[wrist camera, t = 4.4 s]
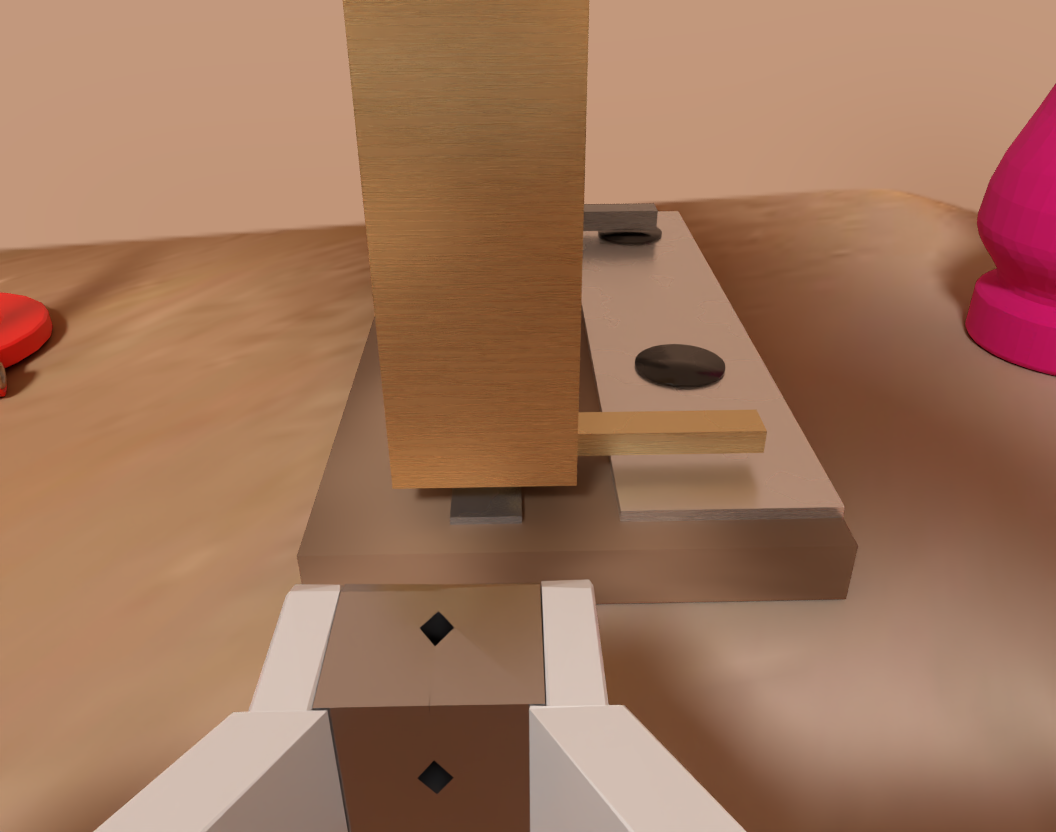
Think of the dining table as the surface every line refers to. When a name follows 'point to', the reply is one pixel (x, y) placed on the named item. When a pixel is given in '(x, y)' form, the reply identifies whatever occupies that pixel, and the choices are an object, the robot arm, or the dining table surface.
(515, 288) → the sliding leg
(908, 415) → the dining table surface
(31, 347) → the tow hook
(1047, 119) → the pepper mill
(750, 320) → the dining table surface
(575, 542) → the walnut board
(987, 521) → the dining table surface
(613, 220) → the fixed leg
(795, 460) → the bolt strip
